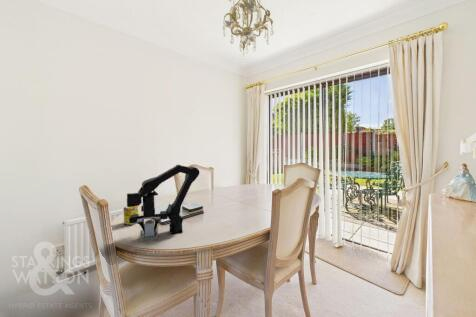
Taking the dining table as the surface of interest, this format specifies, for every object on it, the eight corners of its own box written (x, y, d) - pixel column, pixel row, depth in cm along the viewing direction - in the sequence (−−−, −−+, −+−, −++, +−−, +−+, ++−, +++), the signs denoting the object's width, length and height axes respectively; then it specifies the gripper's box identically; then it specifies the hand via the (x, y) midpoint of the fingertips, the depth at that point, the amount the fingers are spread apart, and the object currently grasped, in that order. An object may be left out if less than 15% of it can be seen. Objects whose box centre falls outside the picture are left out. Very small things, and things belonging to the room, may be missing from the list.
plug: (154, 232, 116) (154, 218, 115) (154, 235, 112) (153, 221, 111) (145, 233, 115) (145, 219, 114) (145, 237, 110) (144, 223, 110)
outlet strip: (158, 227, 125) (158, 225, 125) (157, 239, 111) (157, 236, 111) (142, 229, 123) (142, 227, 122) (139, 241, 108) (139, 239, 108)
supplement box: (131, 226, 127) (131, 208, 126) (123, 224, 129) (123, 207, 128) (139, 222, 133) (138, 205, 132) (131, 221, 134) (130, 204, 133)
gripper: (167, 198, 122) (167, 223, 124) (131, 201, 116) (132, 228, 118) (167, 203, 112) (168, 231, 113) (128, 207, 106) (129, 237, 107)
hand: (149, 231), depth 113 cm, fingers closed on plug, 4 cm apart
